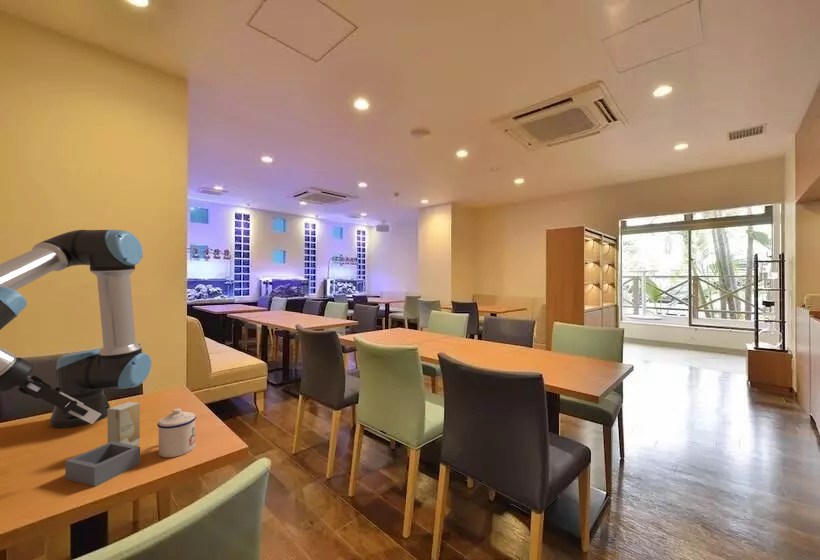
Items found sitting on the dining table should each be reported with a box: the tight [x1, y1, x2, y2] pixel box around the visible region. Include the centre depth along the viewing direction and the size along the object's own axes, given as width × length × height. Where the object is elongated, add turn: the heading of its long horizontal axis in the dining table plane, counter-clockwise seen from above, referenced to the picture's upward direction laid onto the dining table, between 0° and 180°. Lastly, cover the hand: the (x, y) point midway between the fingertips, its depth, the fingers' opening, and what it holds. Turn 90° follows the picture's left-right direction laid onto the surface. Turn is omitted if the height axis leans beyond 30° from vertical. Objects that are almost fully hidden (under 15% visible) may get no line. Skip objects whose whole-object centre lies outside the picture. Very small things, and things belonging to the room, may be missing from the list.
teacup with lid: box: [157, 408, 197, 458], centre depth 101 cm, size 12×9×12 cm
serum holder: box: [64, 441, 141, 488], centre depth 89 cm, size 10×10×4 cm
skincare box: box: [106, 401, 141, 446], centre depth 101 cm, size 6×4×12 cm
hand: (87, 413), depth 94 cm, fingers open, 13 cm apart
